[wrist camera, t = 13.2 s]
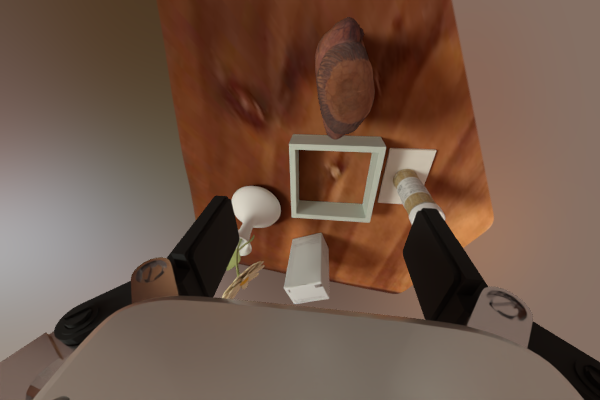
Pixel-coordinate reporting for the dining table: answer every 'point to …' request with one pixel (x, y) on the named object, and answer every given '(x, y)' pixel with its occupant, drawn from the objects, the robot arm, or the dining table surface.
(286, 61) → the dining table surface
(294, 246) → the skincare box
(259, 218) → the flower in vase
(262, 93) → the dining table surface
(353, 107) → the wooden figurine
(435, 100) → the dining table surface
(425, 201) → the sprinkles bottle
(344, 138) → the open box
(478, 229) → the dining table surface
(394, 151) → the mat
